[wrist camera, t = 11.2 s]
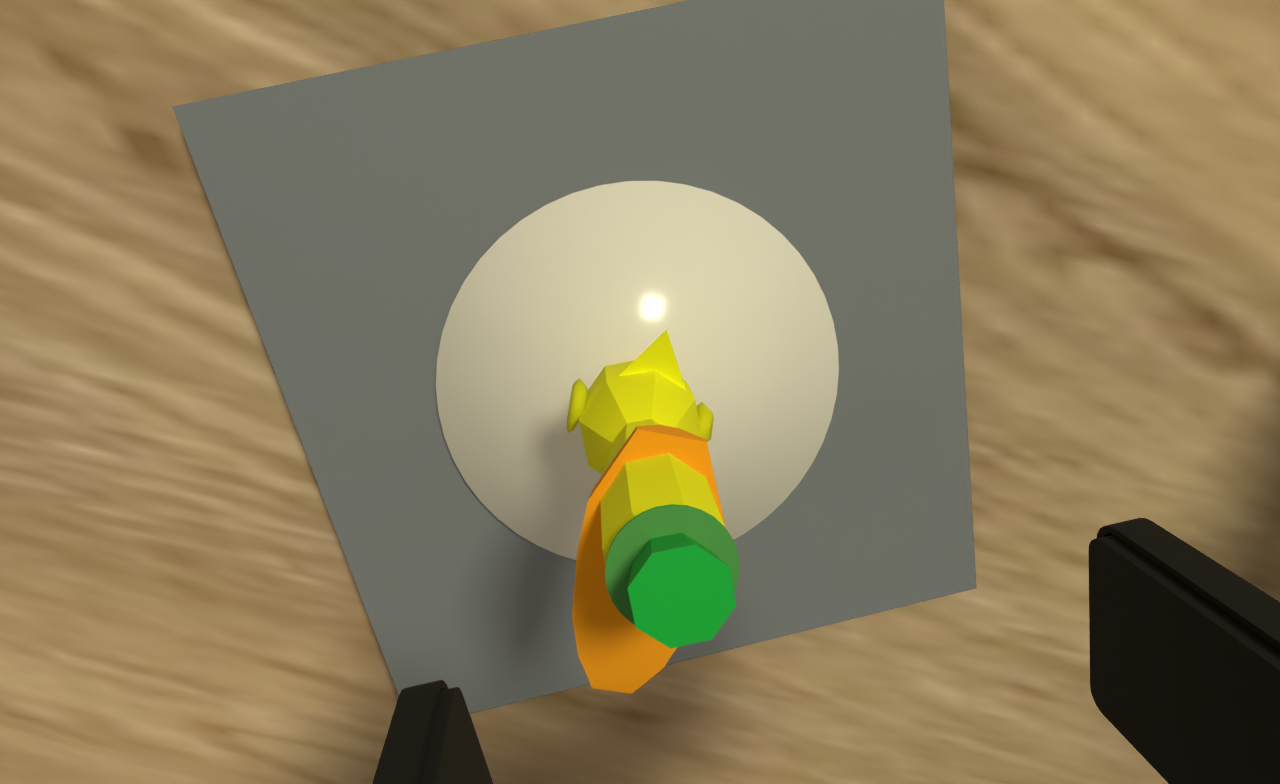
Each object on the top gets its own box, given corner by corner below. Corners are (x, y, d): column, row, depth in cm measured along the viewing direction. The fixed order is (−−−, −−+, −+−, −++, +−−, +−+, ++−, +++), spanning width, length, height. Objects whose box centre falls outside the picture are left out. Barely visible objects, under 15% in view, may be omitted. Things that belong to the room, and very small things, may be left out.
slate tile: (923, -43, 21) (944, -53, 20) (961, 572, 27) (979, 591, 26) (190, 108, 20) (168, 106, 19) (416, 707, 26) (410, 732, 25)
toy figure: (658, 521, 24) (725, 852, 12) (544, 502, 23) (503, 826, 12) (709, 311, 22) (845, 464, 10) (587, 286, 21) (589, 416, 10)
